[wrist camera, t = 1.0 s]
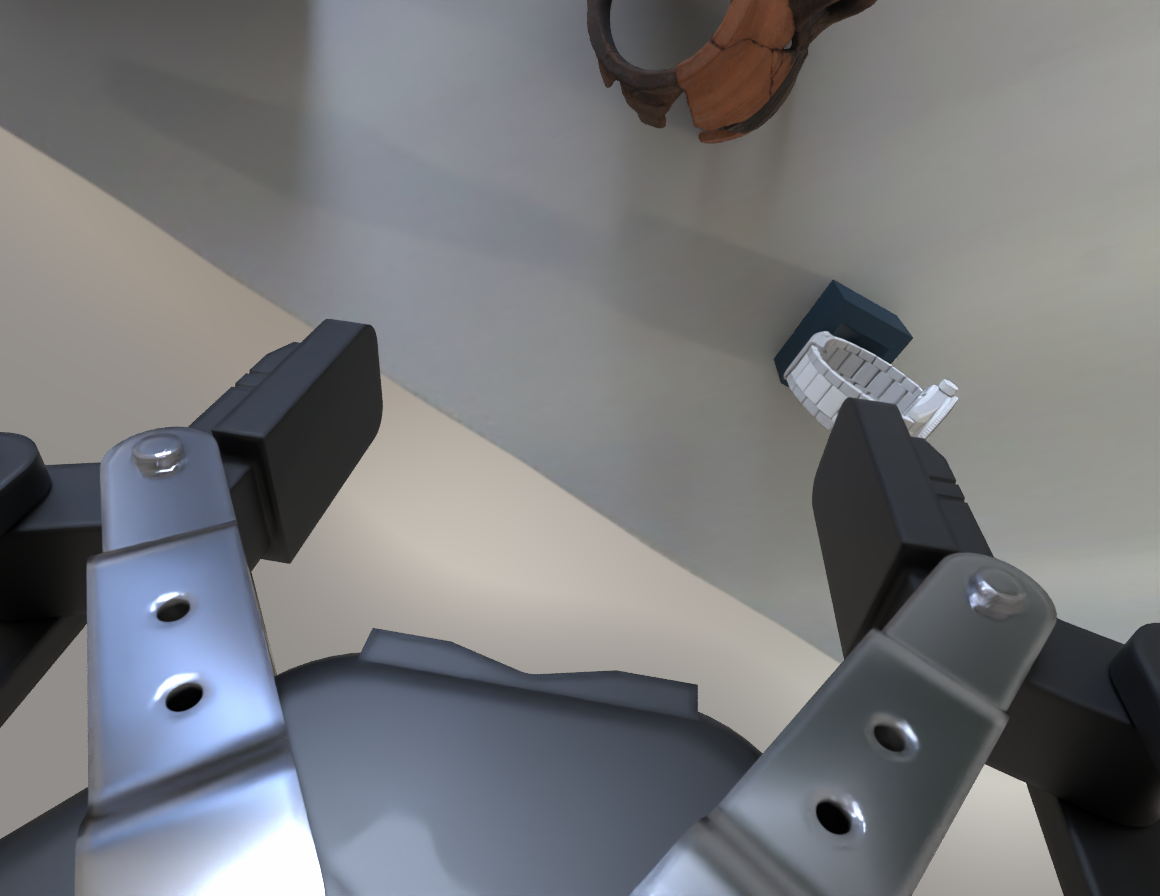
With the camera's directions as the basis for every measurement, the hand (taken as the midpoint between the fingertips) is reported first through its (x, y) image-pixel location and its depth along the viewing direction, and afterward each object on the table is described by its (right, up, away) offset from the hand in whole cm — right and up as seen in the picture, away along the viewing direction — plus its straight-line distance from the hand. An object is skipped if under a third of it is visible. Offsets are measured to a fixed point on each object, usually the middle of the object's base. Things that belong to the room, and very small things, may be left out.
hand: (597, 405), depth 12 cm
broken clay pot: (+7, +19, +21) cm, 29 cm away
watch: (+14, +6, +28) cm, 32 cm away
